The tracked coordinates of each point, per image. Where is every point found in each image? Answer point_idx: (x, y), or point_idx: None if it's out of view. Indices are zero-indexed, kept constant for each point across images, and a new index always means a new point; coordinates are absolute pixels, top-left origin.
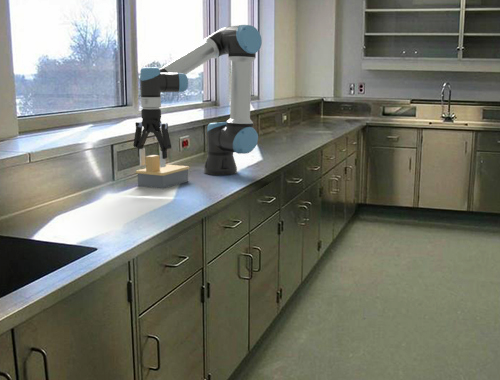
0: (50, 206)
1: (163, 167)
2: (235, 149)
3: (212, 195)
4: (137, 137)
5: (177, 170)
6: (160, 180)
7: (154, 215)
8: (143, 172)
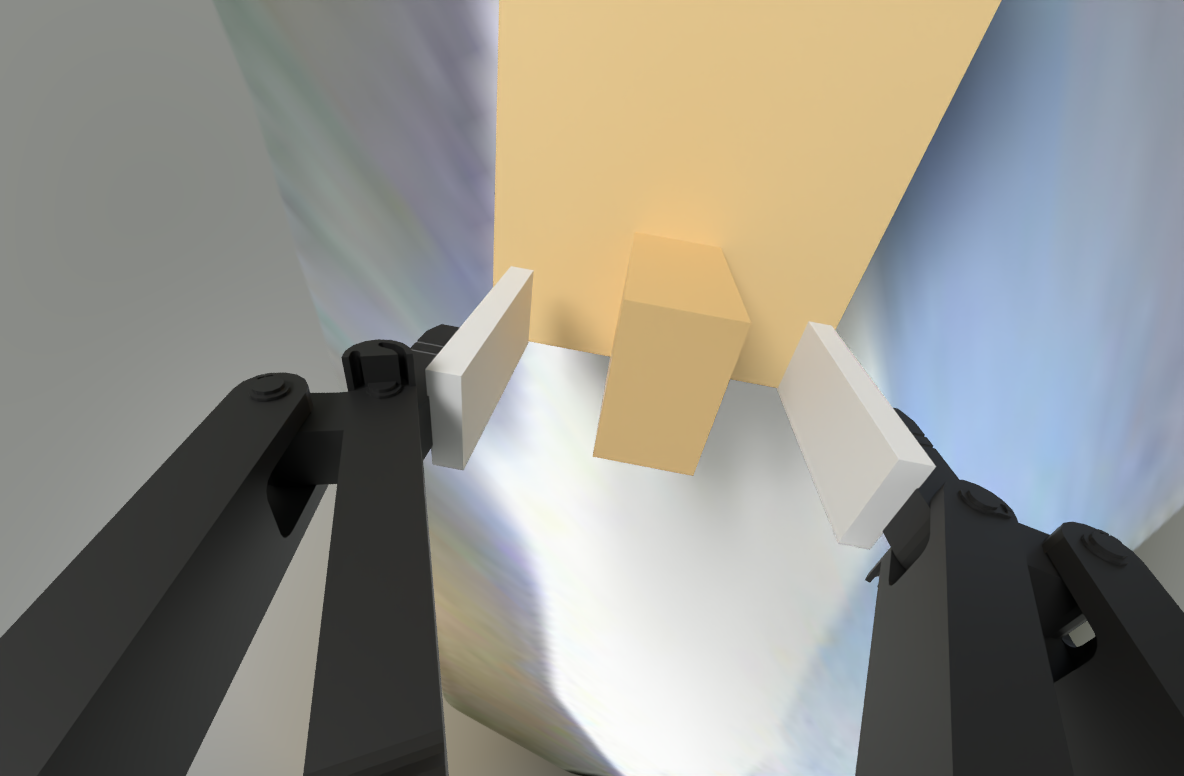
0: (448, 631)
1: None
2: None
3: None
4: (246, 641)
5: (944, 94)
6: None
7: (849, 679)
8: (581, 346)
